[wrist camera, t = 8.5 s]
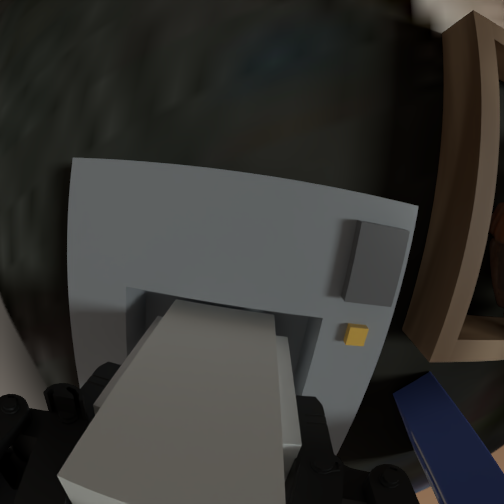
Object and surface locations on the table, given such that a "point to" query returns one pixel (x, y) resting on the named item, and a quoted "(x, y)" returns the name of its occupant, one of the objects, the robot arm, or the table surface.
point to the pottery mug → (497, 253)
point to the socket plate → (237, 266)
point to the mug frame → (462, 201)
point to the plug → (188, 417)
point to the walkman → (448, 446)
